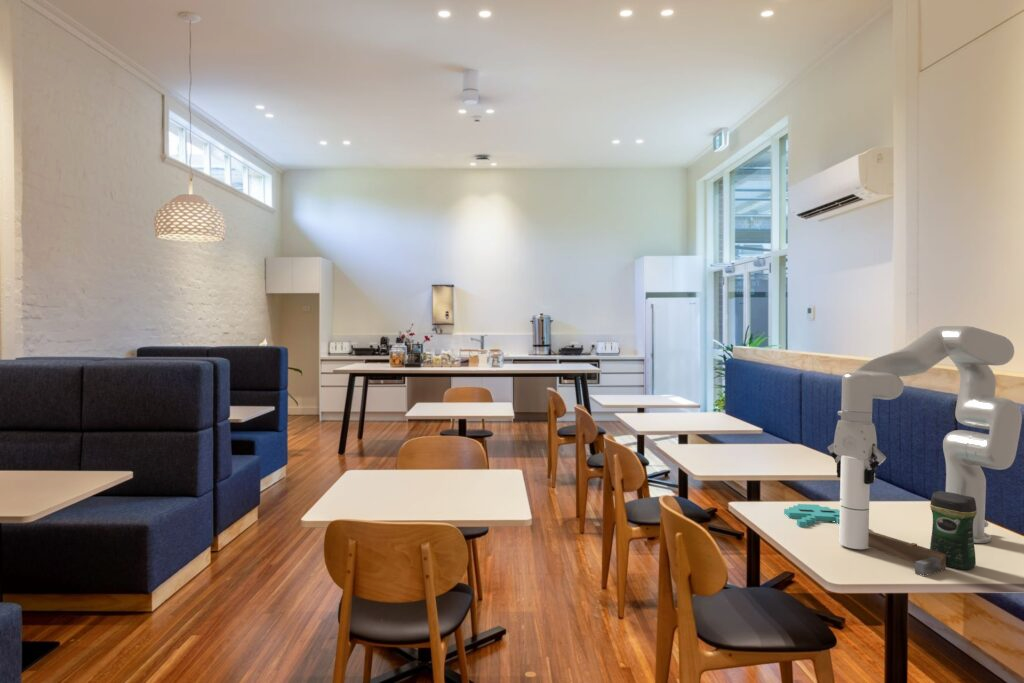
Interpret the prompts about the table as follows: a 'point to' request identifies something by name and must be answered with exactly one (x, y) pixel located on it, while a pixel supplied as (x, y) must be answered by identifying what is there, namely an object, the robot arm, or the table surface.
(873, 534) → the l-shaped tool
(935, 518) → the coffee jar
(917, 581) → the table surface
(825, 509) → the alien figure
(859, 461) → the cylindrical container
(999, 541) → the table surface
